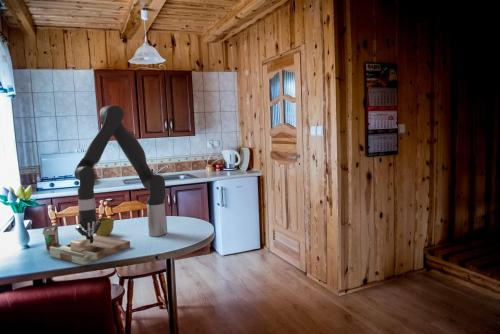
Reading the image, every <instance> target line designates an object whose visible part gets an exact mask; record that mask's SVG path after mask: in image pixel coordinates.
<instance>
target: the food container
mask: <svg viewBox="0 0 500 334" xmlns="http://www.w3.org/2000/svg"><path fill="white" fill-rule="evenodd" d="M58 228H59V225H58V224H53V225H49V226H46V227H44V228H43V230H42V233H41V234H42V235H43V236H44V241H45V246H46V250H49V251H50V248H49V247H51V246H52V247H56V248H58V247H59V245H60V239H59V229H58Z"/></svg>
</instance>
